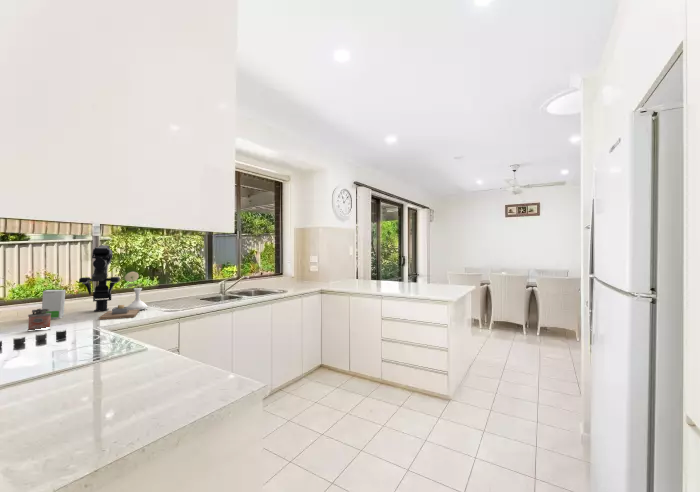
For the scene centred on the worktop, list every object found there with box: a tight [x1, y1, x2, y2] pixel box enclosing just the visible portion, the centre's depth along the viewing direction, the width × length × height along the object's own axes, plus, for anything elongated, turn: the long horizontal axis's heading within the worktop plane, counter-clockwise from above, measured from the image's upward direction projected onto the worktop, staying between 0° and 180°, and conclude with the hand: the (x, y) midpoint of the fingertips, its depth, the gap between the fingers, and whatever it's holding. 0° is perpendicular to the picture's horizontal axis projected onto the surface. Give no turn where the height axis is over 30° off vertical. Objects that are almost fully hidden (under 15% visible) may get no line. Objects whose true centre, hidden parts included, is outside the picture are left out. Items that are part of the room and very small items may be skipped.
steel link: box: [111, 306, 129, 314], centre depth 186 cm, size 7×7×3 cm
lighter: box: [27, 308, 52, 331], centre depth 149 cm, size 8×3×10 cm, turn 114°
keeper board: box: [98, 304, 140, 321], centre depth 186 cm, size 20×16×6 cm
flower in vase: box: [124, 271, 148, 311], centre depth 205 cm, size 13×11×25 cm
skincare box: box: [41, 289, 66, 320], centre depth 177 cm, size 8×7×16 cm
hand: (99, 294), depth 189 cm, fingers open, 9 cm apart
